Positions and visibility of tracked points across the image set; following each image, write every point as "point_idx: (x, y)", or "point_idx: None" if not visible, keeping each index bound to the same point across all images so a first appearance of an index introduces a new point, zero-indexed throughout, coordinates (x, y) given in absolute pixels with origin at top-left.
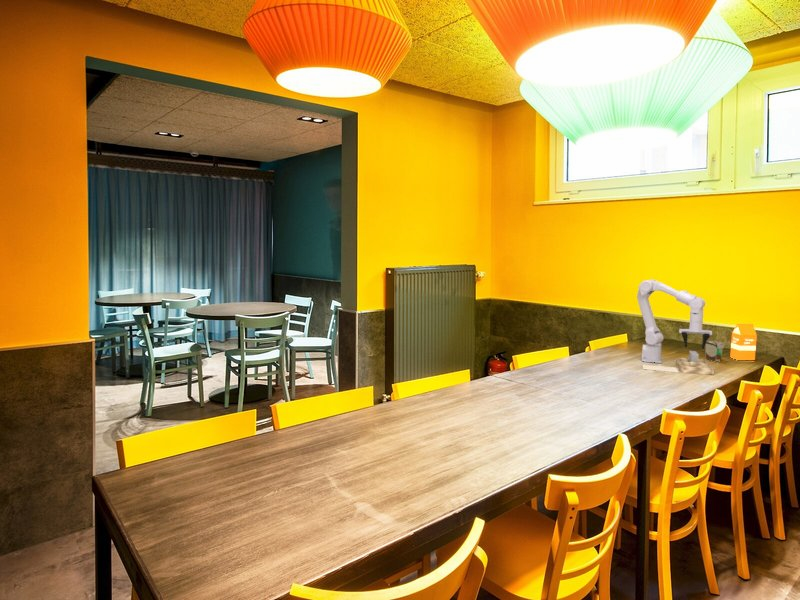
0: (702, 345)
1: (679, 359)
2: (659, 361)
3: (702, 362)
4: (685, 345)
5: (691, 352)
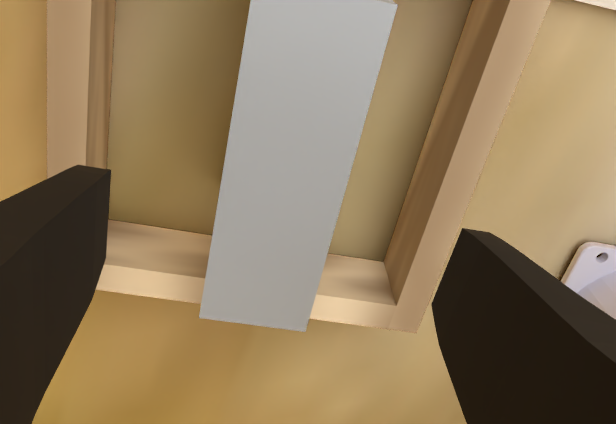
0: (84, 247)
1: (422, 238)
2: (587, 284)
3: (112, 246)
4: (517, 252)
5: (332, 183)
